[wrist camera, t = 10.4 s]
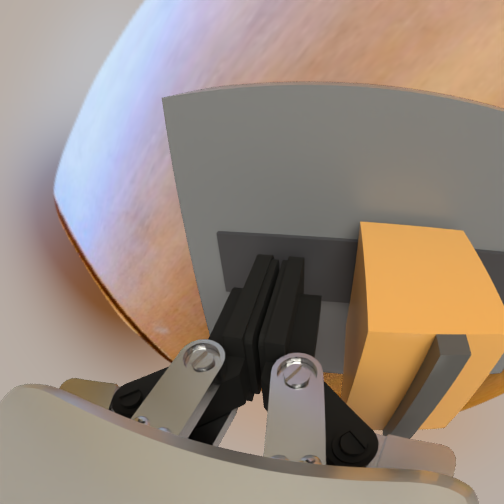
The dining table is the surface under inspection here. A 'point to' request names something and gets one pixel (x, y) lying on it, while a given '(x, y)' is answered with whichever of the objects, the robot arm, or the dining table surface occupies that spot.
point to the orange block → (418, 327)
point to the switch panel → (329, 182)
